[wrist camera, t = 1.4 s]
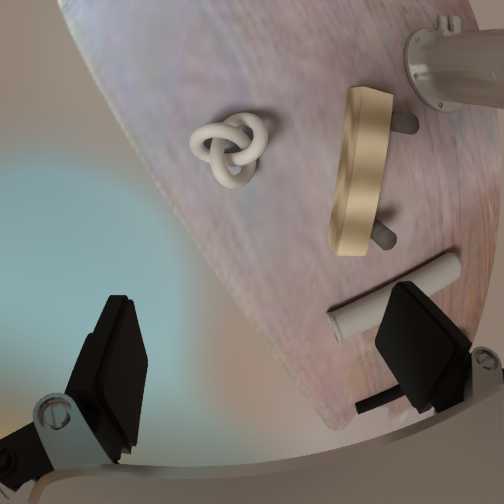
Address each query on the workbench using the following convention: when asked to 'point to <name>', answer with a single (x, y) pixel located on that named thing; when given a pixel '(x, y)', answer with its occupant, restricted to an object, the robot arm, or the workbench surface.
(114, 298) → the robot arm
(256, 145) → the knot
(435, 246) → the workbench surface
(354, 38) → the workbench surface
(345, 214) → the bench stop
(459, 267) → the tube
